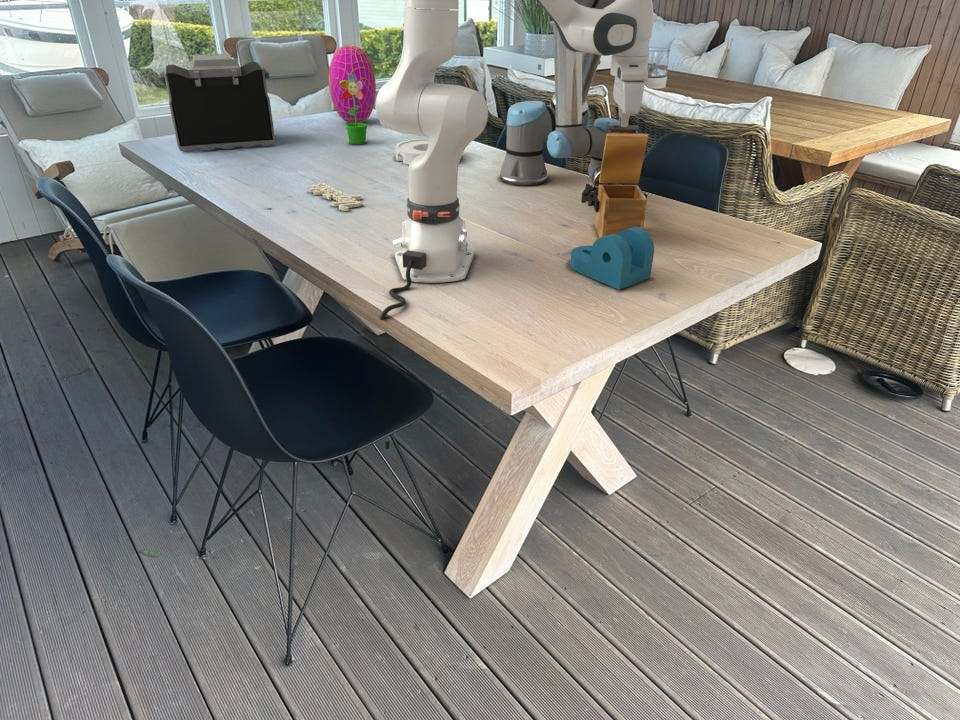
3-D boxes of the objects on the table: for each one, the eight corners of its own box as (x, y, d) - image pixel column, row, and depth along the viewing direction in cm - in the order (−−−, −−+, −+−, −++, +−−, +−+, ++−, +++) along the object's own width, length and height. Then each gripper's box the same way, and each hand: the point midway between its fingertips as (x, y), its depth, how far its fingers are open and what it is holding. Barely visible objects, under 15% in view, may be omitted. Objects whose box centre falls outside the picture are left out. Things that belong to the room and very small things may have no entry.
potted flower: (342, 144, 260) (336, 73, 247) (351, 139, 266) (346, 70, 254) (365, 146, 257) (360, 74, 245) (374, 141, 264) (369, 71, 251)
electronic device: (273, 133, 274) (261, 51, 258) (280, 146, 256) (268, 58, 241) (174, 140, 262) (156, 54, 247) (174, 153, 244) (155, 62, 229)
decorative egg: (362, 116, 305) (357, 42, 290) (386, 123, 292) (382, 46, 277) (324, 121, 294) (316, 45, 279) (347, 129, 281) (340, 49, 266)
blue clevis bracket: (650, 277, 154) (656, 233, 149) (619, 289, 148) (624, 243, 143) (591, 254, 166) (595, 212, 161) (560, 264, 160) (563, 221, 155)
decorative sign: (374, 202, 196) (343, 208, 191) (374, 205, 197) (343, 211, 191) (331, 180, 214) (301, 186, 209) (332, 183, 215) (302, 189, 209)
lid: (648, 136, 168) (643, 117, 173) (607, 135, 168) (603, 117, 173) (638, 183, 178) (634, 164, 184) (599, 183, 178) (596, 164, 184)
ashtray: (454, 167, 232) (454, 155, 230) (388, 164, 235) (387, 152, 233) (466, 151, 252) (466, 140, 250) (404, 148, 255) (404, 137, 253)
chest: (641, 243, 174) (647, 199, 168) (601, 242, 174) (605, 199, 168) (632, 226, 185) (637, 184, 179) (594, 225, 185) (598, 184, 179)
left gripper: (610, 60, 176) (605, 116, 183) (622, 74, 159) (616, 135, 166) (635, 60, 176) (629, 116, 183) (649, 74, 159) (642, 135, 166)
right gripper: (644, 196, 199) (660, 222, 180) (566, 195, 199) (573, 220, 180) (648, 170, 195) (664, 194, 176) (568, 169, 195) (576, 192, 176)
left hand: (623, 125), depth 175 cm, fingers closed, pressing on lid
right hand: (618, 207), depth 178 cm, fingers closed on chest, 10 cm apart
